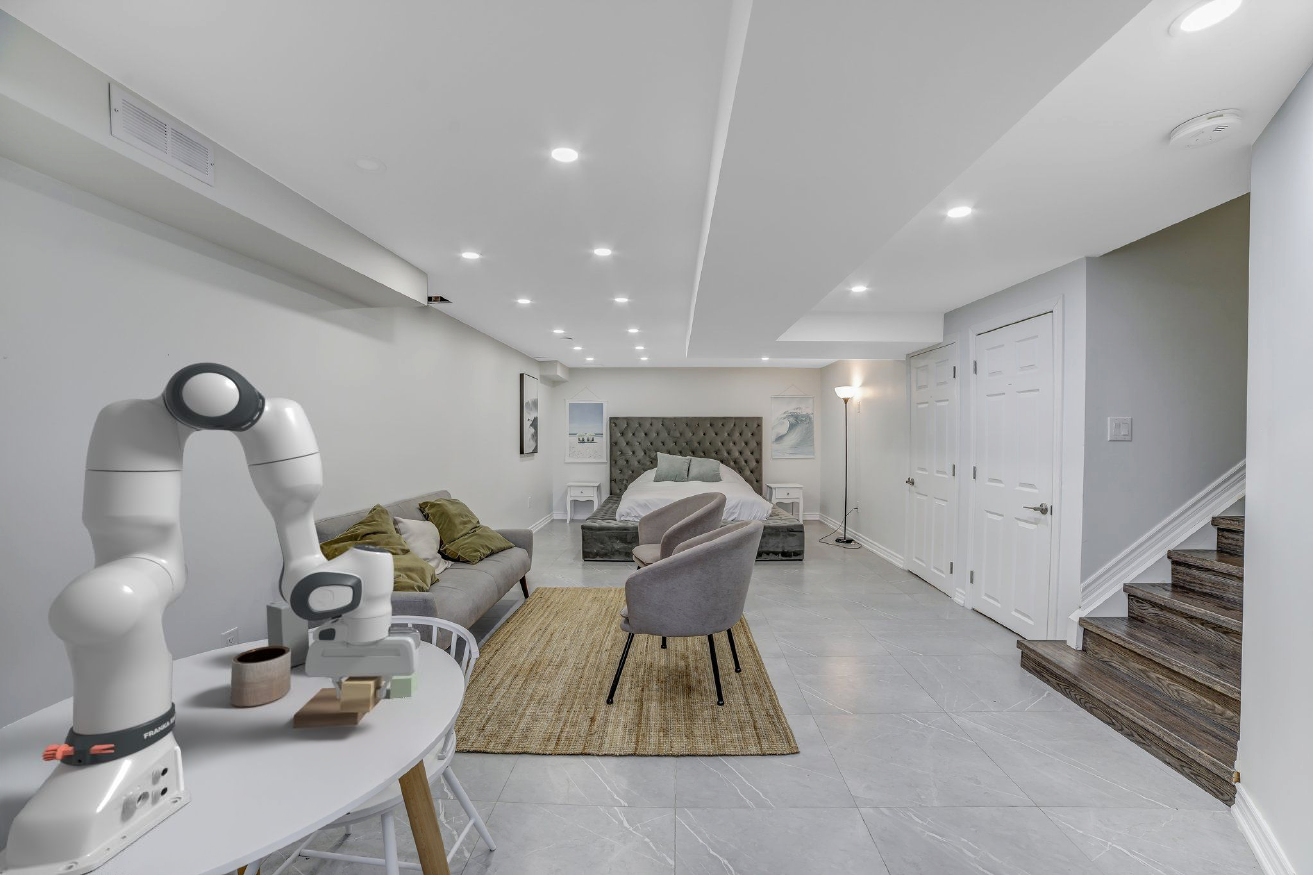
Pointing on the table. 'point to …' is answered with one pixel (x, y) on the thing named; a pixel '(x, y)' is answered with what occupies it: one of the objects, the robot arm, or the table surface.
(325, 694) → the base plate
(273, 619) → the skincare box
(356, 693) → the oak cube
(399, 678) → the green cube
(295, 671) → the table surface
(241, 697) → the planter
